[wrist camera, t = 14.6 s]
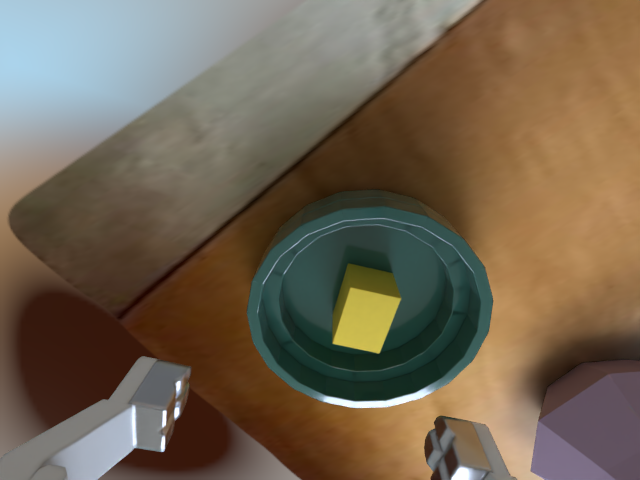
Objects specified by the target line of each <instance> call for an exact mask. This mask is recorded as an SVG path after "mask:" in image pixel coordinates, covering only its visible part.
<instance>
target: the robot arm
mask: <svg viewBox="0 0 640 480" xmlns="http://www.w3.org/2000/svg"><path fill="white" fill-rule="evenodd" d="M190 375H191V367H190V366H186V365H181V364H177V363H172V362H168V361H163V360H159V359H154V358H148V357H144V356H142V357H141V358H139V359H138V360H137V361H136V363H135V364H134V365H133V367H132V368H131V370H130V371H129V372H128V374H127V375H126V376H125V378H124V379H123V381H122V382H121V383H120V385H119V386H118V387H117V389H116V390H115V392H114V393H113V394H112V396H111V397H110V399H109V400H104V399H103V400H101V401H99V402H97V403H96V404H94V405H92V406H90V407H89V408H87V409H85V410H83V411H81V412H80V413H78V414H76V415H74V416H72V417H71V418H69V419H67V420H65V421H63V422H62V423H60V424H58V425H56V426H55V427H53V428H51V429H49V430H47V431H46V432H44V433H42V434H40V435H38V436H37V437H35V438H33V439H31V440H30V441H28V442H26V443H24V444H22V445H21V446H19V447H17V448H15V449H13V450H12V451H10V452H8V453H6V454H5V455H4V456H3V457H2V458H1V459H0V480H97V479H98V478H99V477H101V476H102V475H103V474H104V473H106V472H107V471H108V470H109V469H110V468H112V467H113V466H114V465H115V464H116V463H118V462H119V461H120V460H121V459H123V458H124V457H125V456H126V455H127V454H129V453H130V452H131V451H132V450H133V448H140V449H147V450H154V451H160V452H164V450H165V448H166V446H167V443H168V441H169V439H170V437H171V435H172V433H173V431H174V421H175V420H176V419H177V418H179V417H180V416H181V413H182V411H183V409H184V406H185V404H186V401H187V398H188V393H189V386H190V385H189V383H188V382H187V381H188V379H189V377H190ZM434 425H435V429H433V430H431V431H429V432H428V434H427V436H426V439H425V446H424V449H425V457H426V462H427V464H428V465H429V467H430V468H431V469H432V470H433V474H432V476H431V480H517V479H516V478H515V477H512V476H510V474H509V472H508V470H507V468H506V465H505V463H504V461H503V459H502V457H501V454H500V452H499V450H498V448H497V446H496V444H495V441H494V439H493V437H492V435H491V433H490V431H489V428H488V427H487V426H486V425H485V424H481V423H476V422H471V421H467V420H462V419H456V418H451V417H446V416H439V417H437V418H436V420H435V422H434Z"/></svg>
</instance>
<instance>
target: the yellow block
mask: <svg viewBox="0 0 640 480" xmlns="http://www.w3.org/2000/svg"><path fill="white" fill-rule="evenodd" d="M400 300H401V296H400V293H399V290H398V287H397V284H396V281H395V278H394V275H393V273H389V272H385V271H380V270H376V269H372V268H367V267H363V266H358V265H354V264H349V263H348V265H347V269H346V272H345V275H344V279H343V282H342V285H341V289H340V292H339V295H338V298H337V302H336V305H335V308H334V312H333V330H332V343H333V344H336V345H341V346H346V347H351V348H355V349H360V350H365V351H370V352H375V353H380V351H381V348H382V346H383V343H384V341H385V338H386V336H387V333H388V331H389V328H390V326H391V323H392V321H393V318H394V315H395V313H396V310H397V308H398V305H399V303H400Z"/></svg>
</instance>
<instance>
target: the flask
mask: <svg viewBox="0 0 640 480" xmlns="http://www.w3.org/2000/svg"><path fill="white" fill-rule="evenodd" d="M531 472H533V473H535V474H536V475H538V476H539V477H541V478H543V479H544V480H640V361H637V360H626V359H624V360H612V361H600V362H588V363H581V364H579V365H578V366H577V367H575V368H574V369H572V370H571V371H569V372H568V373H567V374H565V375H564V376H562V377H561V378H559V379H558V380H557V381H555V382H554V383H552V384H551V385H549V386H548V388H547V392H546V395H545V399H544V402H543V406H542V409H541V413H540V416H539V420H538V426H537V432H536V439H535V445H534V452H533V458H532V465H531Z"/></svg>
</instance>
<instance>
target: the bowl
mask: <svg viewBox="0 0 640 480" xmlns="http://www.w3.org/2000/svg"><path fill="white" fill-rule="evenodd" d="M348 263H349V264H354V265H358V266H363V267H367V268H372V269H376V270H380V271H385V272H389V273H393V275H394V278H395V281H396V284H397V287H398V290H399V293H400V296H401V300H400V303H399V305H398V308H397V310H396V313H395V315H394V318H393V321H392V323H391V326H390V328H389V331H388V333H387V336H386V338H385V341H384V343H383V346H382V348H381V351H380V353H375V352H370V351H365V350H360V349H355V348H351V347H346V346H341V345H336V344H333V343H332V330H333V312H334V308H335V305H336V302H337V298H338V295H339V292H340V289H341V285H342V282H343V279H344V275H345V272H346V269H347V265H348ZM492 306H493V296H492V292H491V289H490V285H489V281H488V277H487V273H486V269H485V267H484V265H483V264H482V262H481V261H480V260H479V258H478V257H477V256H476V254H475V253H474V252H473V250H472V249H471V248H470V246H469V245H468V244H467V243H466V241H465V240H464V239H463V237H462V236H461V235H460V234H459V233H458V232H457V231H456V230H455V228H454V227H453V226H452V225H451V224H450V223H449V222H448V221H447V220H446V218H445V217H444V216H442V215H441V214H439V213H438V212H436V211H434V210H433V209H431V208H430V207H428V206H426V205H425V204H423V203H422V202H420V201H419V200H417V199H415V198H413V197H409V196H405V195H400V194H396V193H392V192H388V191H384V190H380V189H372V190H359V191H345V192H339V193H336V194H334V195H331V196H329V197H326V198H324V199H321V200H319V201H316V202H314V203H311V204H309V205H306V206H305V207H303V208H302V209H301V210H300V211H299V212H297V213H296V214H295V215H294V216H293V217H291V218H290V219H289V220H288V221H287V222H285V223H284V224H283V225H282V226H280V228H279V229H278V231H277V232H276V234H275V236H274V237H273V239H272V241H271V242H270V244H269V246H268V247H267V249H266V251H265V252H264V254H263V256H262V259H261V261H260V263H259V265H258V268H257V270H256V272H255V275H254V277H253V280H252V283H251V289H250V295H249V301H248V306H247V316H248V321H249V326H250V331H251V335H252V340H253V343H254V345H255V346H256V348H257V350H258V351H259V353H260V354H261V356H262V358H263V359H264V361H265V362H266V364H267V366H268V367H269V368H270V369H271V370H272V371H273V372H274V373H276V374H277V375H278V376H279V377H280V378H281V379H283V380H284V381H285V382H286V383H287V384H289V385H290V386H291V387H292V388H293V389H295V390H297V391H300V392H302V393H304V394H306V395H308V396H310V397H312V398H315V399H317V400H319V401H321V402H326V403H331V404H336V405H341V406H346V407H351V408H374V407H390V406H394V405H397V404H401V403H405V402H409V401H413V400H417V399H419V398H420V399H421V398H422V397H424V396H426V395H428V394H430V393H432V392H434V391H435V390H437V389H439V388H441V387H443V386H445V385H447V384H449V382H451V381H452V380H453V379H454V378H455V377H456V376H457V375H458V374H459V373H460V372H461V371H462V370H463V369H464V368H465V367H467V366H468V365H469V364H470V363H471V362H472V361H473V359H474V358H475V356H476V354H477V352H478V350H479V349H480V347H481V345H482V343H483V341H484V340H485V338H486V336H487V334H488V332H489V327H490V320H491V313H492Z"/></svg>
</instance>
